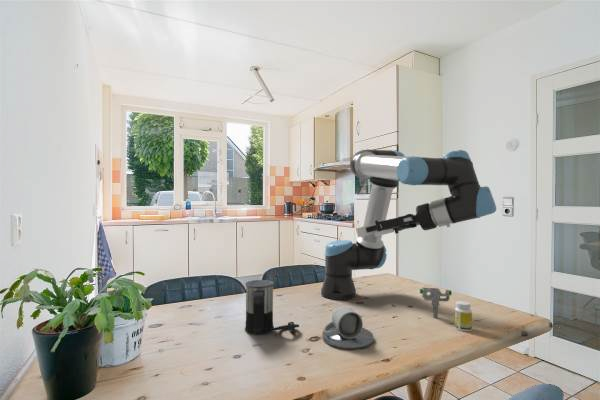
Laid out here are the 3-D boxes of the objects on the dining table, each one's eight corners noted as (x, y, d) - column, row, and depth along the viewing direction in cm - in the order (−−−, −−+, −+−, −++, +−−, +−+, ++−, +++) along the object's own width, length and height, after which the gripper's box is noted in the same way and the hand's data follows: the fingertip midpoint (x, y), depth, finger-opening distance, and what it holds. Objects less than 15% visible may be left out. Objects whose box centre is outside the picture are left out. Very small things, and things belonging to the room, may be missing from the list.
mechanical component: (452, 320, 110) (452, 291, 111) (420, 317, 113) (420, 289, 113) (449, 317, 113) (449, 288, 113) (419, 314, 115) (419, 287, 116)
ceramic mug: (352, 327, 100) (352, 302, 100) (363, 337, 92) (363, 311, 93) (320, 330, 98) (319, 305, 98) (328, 341, 90) (328, 314, 90)
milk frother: (242, 326, 105) (242, 280, 105) (287, 319, 111) (287, 276, 111) (252, 344, 92) (252, 292, 92) (303, 335, 98) (303, 286, 98)
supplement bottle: (474, 329, 102) (474, 303, 102) (466, 333, 100) (466, 306, 100) (460, 324, 106) (460, 299, 106) (451, 327, 104) (451, 301, 104)
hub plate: (312, 334, 98) (312, 330, 98) (350, 325, 106) (350, 321, 106) (343, 354, 85) (343, 350, 85) (384, 342, 93) (384, 338, 93)
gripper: (427, 227, 81) (352, 245, 92) (445, 227, 101) (383, 243, 112) (418, 198, 83) (346, 220, 94) (438, 205, 103) (377, 222, 114)
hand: (366, 232), depth 103 cm, fingers open, 13 cm apart
